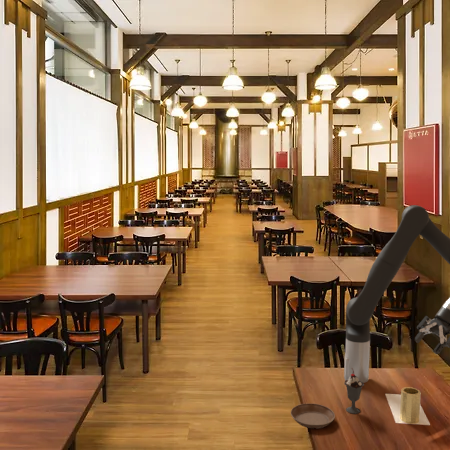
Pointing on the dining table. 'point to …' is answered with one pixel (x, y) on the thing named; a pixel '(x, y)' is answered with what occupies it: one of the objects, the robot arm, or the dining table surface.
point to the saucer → (312, 415)
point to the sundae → (353, 392)
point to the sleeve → (410, 405)
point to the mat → (395, 405)
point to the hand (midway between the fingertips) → (425, 347)
